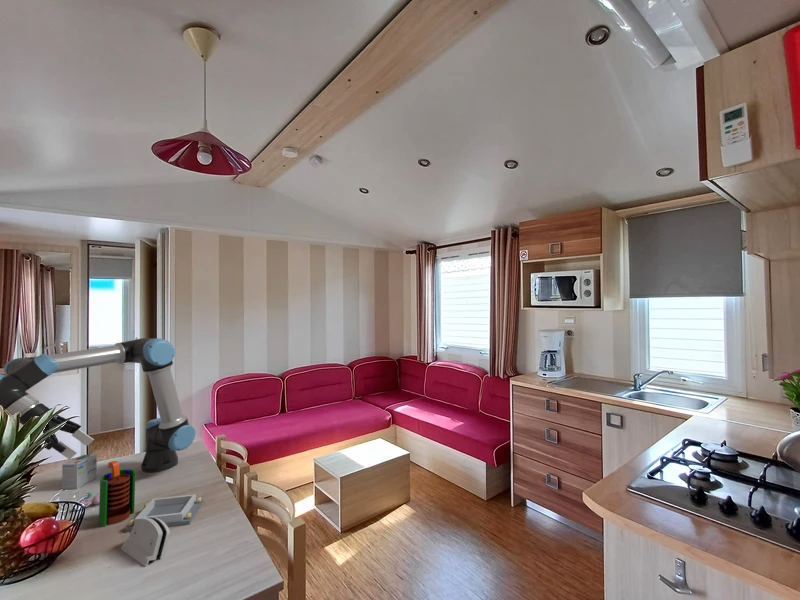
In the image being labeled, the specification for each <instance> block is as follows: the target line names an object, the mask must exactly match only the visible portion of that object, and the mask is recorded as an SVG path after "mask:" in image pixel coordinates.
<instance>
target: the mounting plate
mask: <svg viewBox="0 0 800 600" xmlns="http://www.w3.org/2000/svg"><path fill="white" fill-rule="evenodd" d="M203 504H204V499H203V498H202V497H199V496H198V497H197V494H196V493H194V494H188V495H187V494H186V495H184V494H183V495H177V496H168V497H158V498H152V500H150V501H149V502H146V503H144V504H143V509H142V510H141V511H140V512H139V513H138V514H137V515H136V516H135V517H134V518H133V519H132V518H131V519H129V520H128V525H127V526H126V527H125V529H124V533H131V531H132V529H133V526H134V524H135V522H136V520H138V519H141V518H148V517H153V518H158V519H160V520H162V521H163V522H164V523H165V524H166V525H167V526H168V528H170V526H172V527H176V526H177V527H178V525H180V526H185V525H187V524H188V525H190V524H191V523H192V521H193V520H194V518H195V517H196V515H197V514H198V512H199V510H200V509H201V507H202V505H203ZM192 519H193V520H192Z"/></svg>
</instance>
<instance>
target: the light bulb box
mask: <svg viewBox="0 0 800 600" xmlns="http://www.w3.org/2000/svg"><path fill="white" fill-rule="evenodd" d="M97 461H98V455H97V454H96V453H95V454H93V453H92V454H82V455H80V456H77V457H76V458H74V459H73V458H72V459H70V460H68V461H67V462H65V463H63V464H62V465H61V466H62V467H61V468H62V471H61V472H62V474H61V475H62V476H61V481H62V484H61V489H62V490H77V489H79V488H81V487H83V486H85V485H86V484H88V483H90V482H91V481H93V480H95V479H97V476H98V475H97V472H98V471H97V467H98V466H97V465H98V463H97Z"/></svg>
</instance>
